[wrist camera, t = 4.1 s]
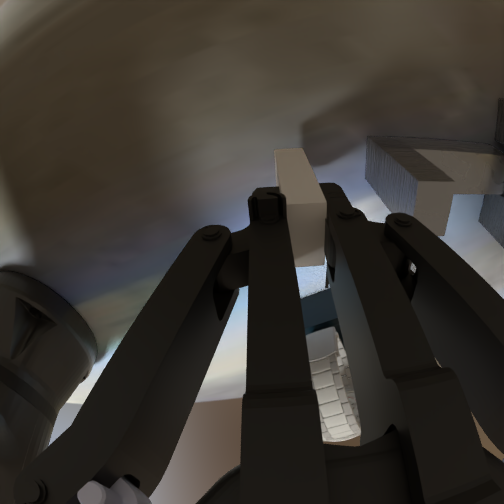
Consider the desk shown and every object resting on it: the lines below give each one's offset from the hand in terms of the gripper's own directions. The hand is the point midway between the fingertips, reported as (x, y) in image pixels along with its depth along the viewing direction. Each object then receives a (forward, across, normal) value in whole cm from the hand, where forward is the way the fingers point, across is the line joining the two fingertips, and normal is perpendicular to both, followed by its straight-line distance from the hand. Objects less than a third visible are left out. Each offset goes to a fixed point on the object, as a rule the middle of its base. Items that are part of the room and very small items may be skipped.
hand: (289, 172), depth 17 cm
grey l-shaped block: (+2, -10, 0) cm, 10 cm away
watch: (+2, -2, +13) cm, 13 cm away
